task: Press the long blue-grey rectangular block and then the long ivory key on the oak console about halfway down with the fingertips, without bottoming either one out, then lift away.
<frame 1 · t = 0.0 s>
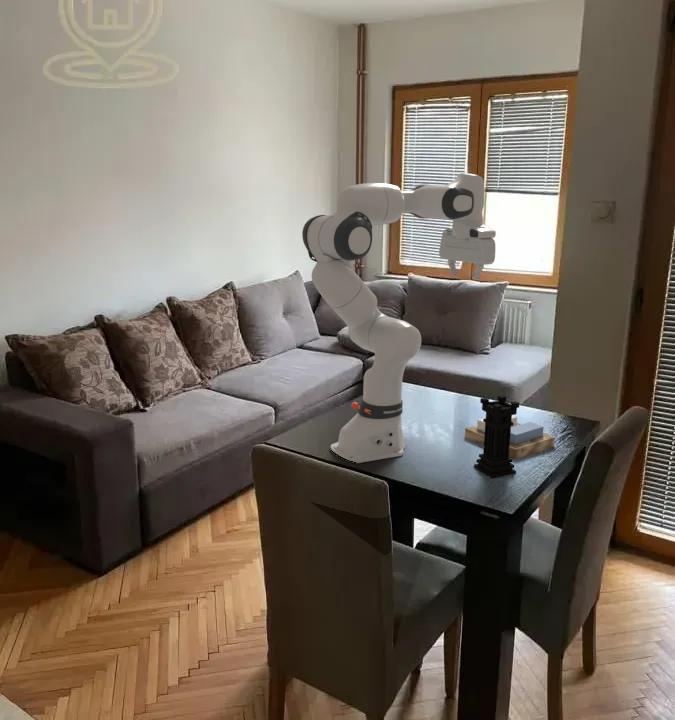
hand: (464, 276, 206), 48 cm above the table, fingers open, 8 cm apart
ivory key: (497, 423, 208), point 5 cm above the table, slide at 0.0 cm
key console: (508, 441, 205), on the table
blue-grey rectangular block: (522, 432, 200), point 5 cm above the table, slide at 0.0 cm
chess piece: (494, 471, 185), on the table
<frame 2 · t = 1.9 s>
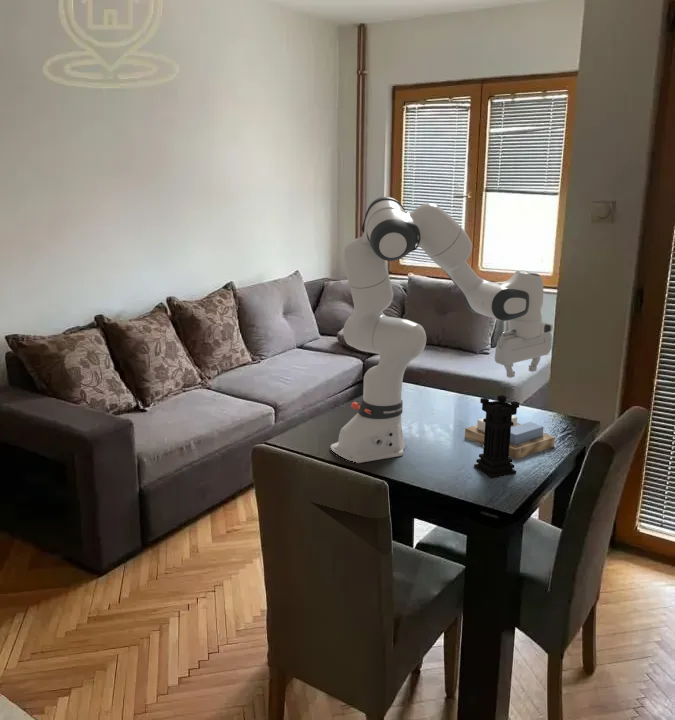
hand: (521, 374, 197), 22 cm above the table, fingers open, 8 cm apart
nothing on the table moved.
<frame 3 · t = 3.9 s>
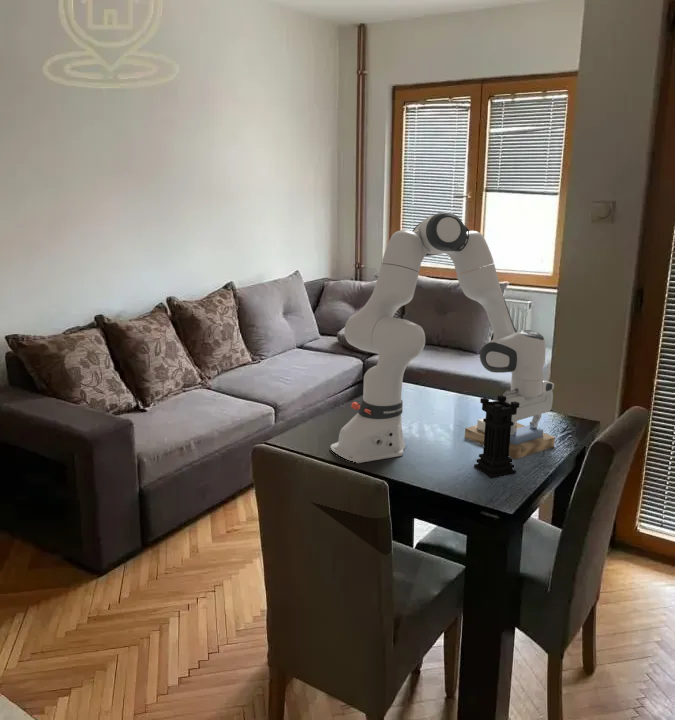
hand: (523, 431, 200), 5 cm above the table
blue-grey rectangular block: (522, 436, 200), point 3 cm above the table, slide at 1.0 cm, touching gripper
everything else where it was.
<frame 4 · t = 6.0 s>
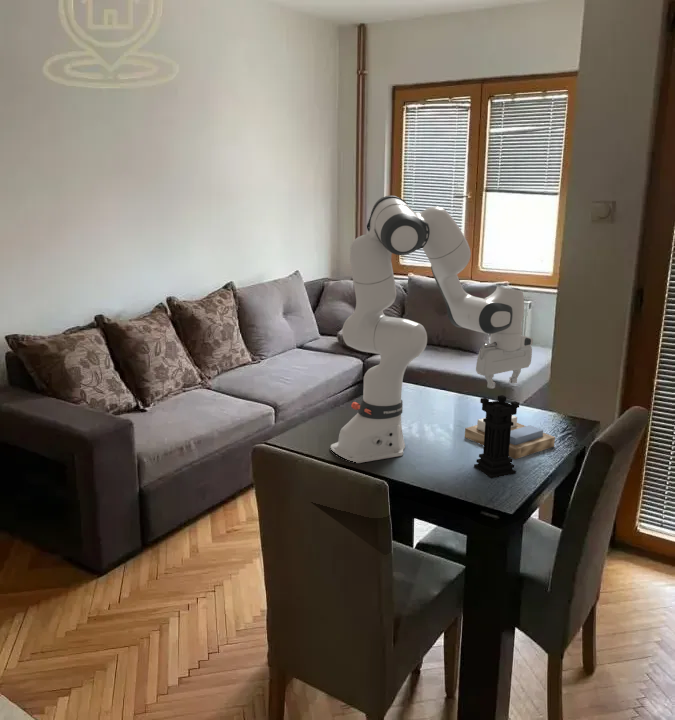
hand: (502, 385, 204), 17 cm above the table, fingers open, 8 cm apart
blue-grey rectangular block: (522, 436, 200), point 3 cm above the table, slide at 1.1 cm
everything else where it was.
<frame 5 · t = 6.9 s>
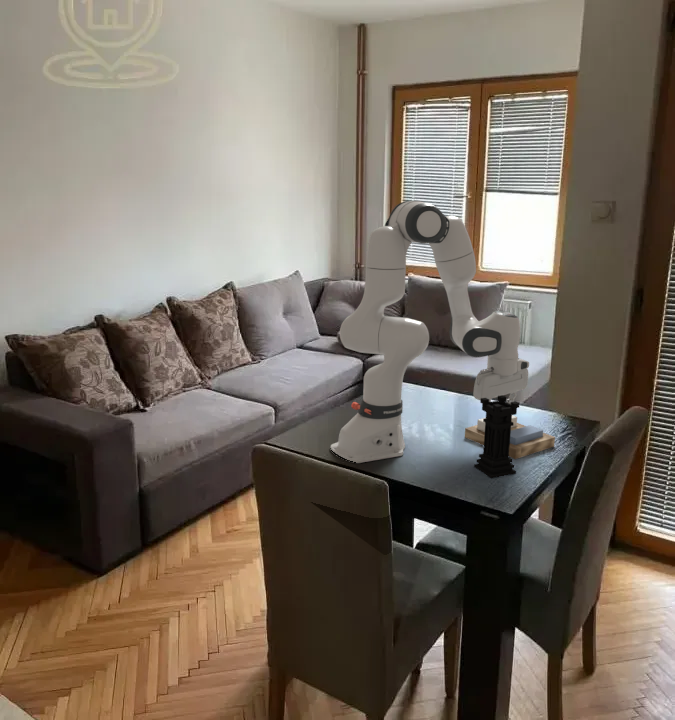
hand: (499, 408, 207), 9 cm above the table, fingers open, 8 cm apart
nothing on the table moved.
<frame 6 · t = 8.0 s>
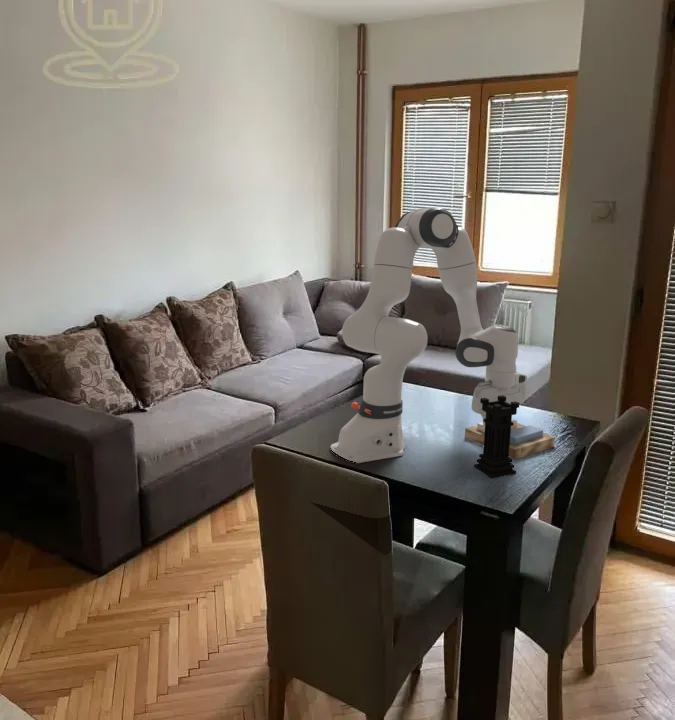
hand: (497, 421, 208), 5 cm above the table
ivory key: (497, 426, 208), point 3 cm above the table, slide at 1.1 cm, touching gripper
everything else where it was.
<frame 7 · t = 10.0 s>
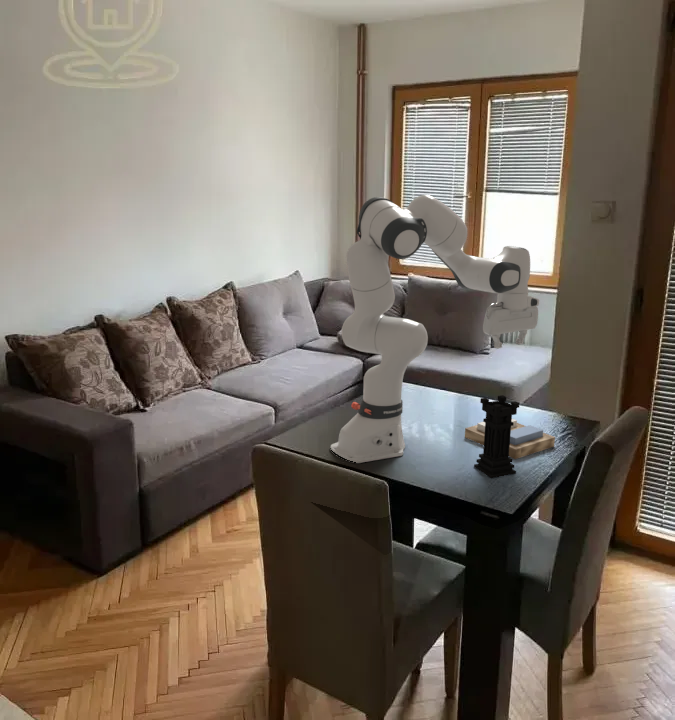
hand: (508, 346, 206), 28 cm above the table, fingers open, 8 cm apart
ivory key: (497, 426, 208), point 3 cm above the table, slide at 1.1 cm
everything else where it was.
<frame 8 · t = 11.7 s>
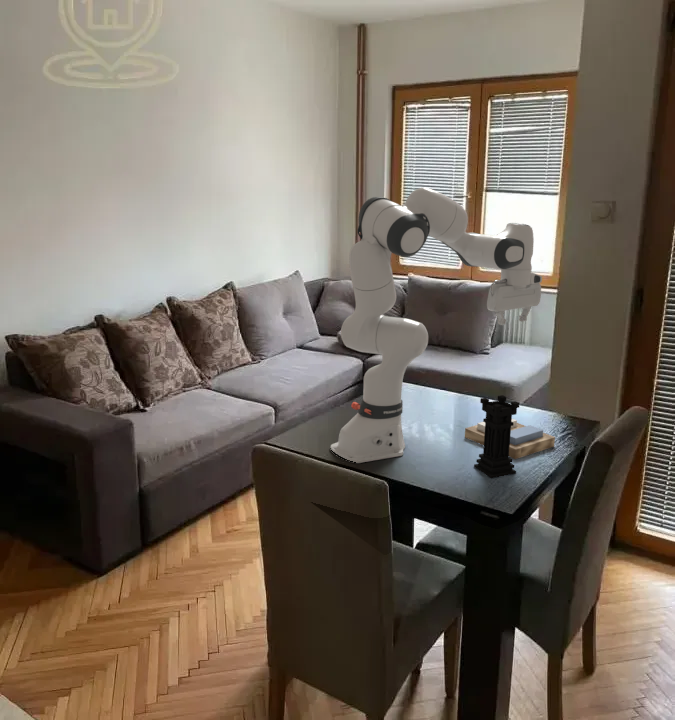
hand: (512, 322, 208), 34 cm above the table, fingers open, 8 cm apart
nothing on the table moved.
at the end: blue-grey rectangular block slide at 1.1 cm; ivory key slide at 1.1 cm; chess piece moved 0.2 cm from its start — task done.
